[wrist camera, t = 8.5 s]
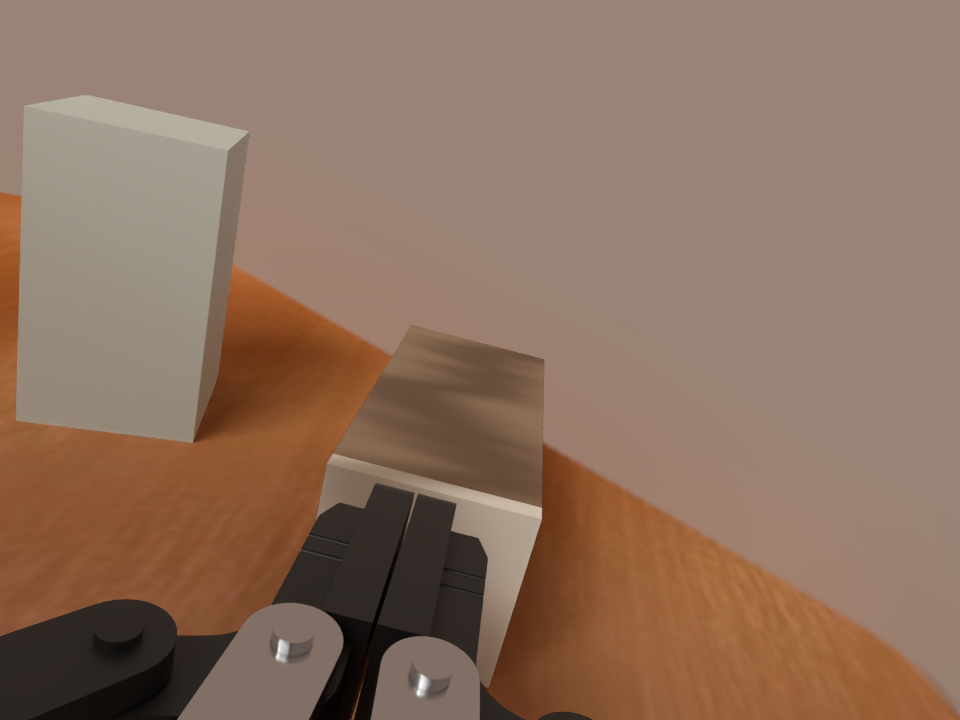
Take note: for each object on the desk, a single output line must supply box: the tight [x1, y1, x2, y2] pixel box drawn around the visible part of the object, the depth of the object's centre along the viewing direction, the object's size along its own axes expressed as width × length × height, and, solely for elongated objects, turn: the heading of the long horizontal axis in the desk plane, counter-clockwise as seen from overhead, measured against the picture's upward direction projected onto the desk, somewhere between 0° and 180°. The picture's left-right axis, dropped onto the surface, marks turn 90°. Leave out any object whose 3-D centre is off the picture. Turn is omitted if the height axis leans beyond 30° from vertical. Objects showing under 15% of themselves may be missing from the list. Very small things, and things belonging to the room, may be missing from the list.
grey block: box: [16, 95, 249, 443], centre depth 26 cm, size 6×6×10 cm
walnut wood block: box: [316, 325, 544, 688], centre depth 23 cm, size 5×5×11 cm
